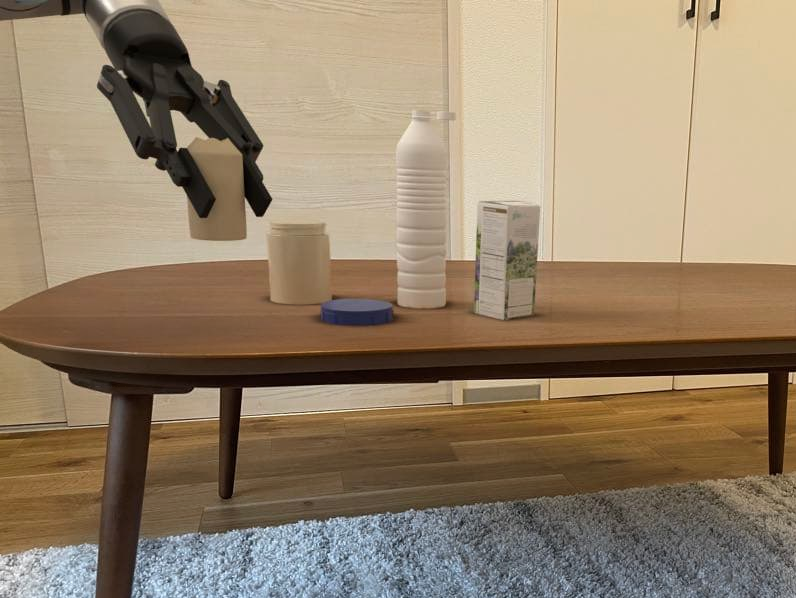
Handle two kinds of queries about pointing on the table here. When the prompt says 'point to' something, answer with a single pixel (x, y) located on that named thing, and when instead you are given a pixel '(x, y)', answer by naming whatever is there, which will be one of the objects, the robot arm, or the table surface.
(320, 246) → the jar
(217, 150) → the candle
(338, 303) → the lid
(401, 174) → the water bottle
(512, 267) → the syrup box
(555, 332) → the table surface
